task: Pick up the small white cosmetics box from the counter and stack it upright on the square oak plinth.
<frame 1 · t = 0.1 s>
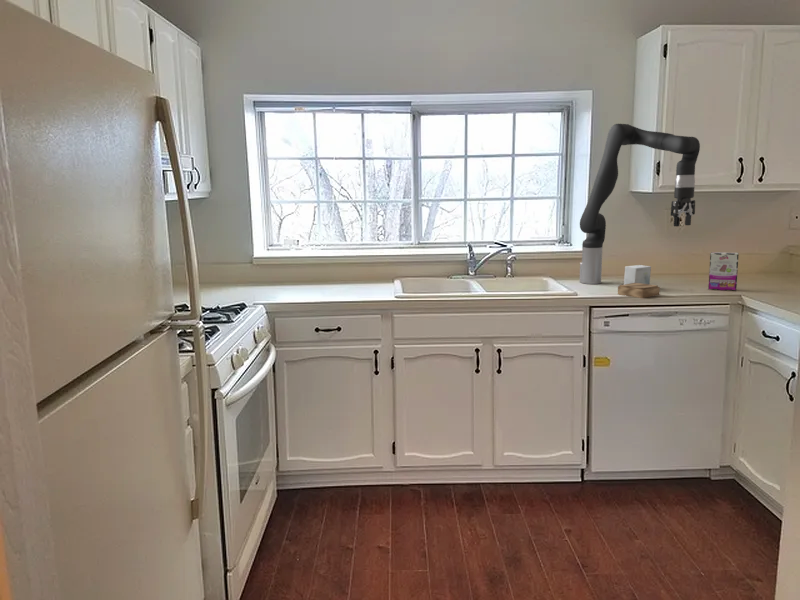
hand: (682, 225, 263), 29 cm above the countertop, tool pointing down, fingers open, 8 cm apart
skincare box: (636, 289, 284), on the countertop
candy bar box: (722, 290, 278), on the countertop
oak plinth: (638, 294, 270), on the countertop
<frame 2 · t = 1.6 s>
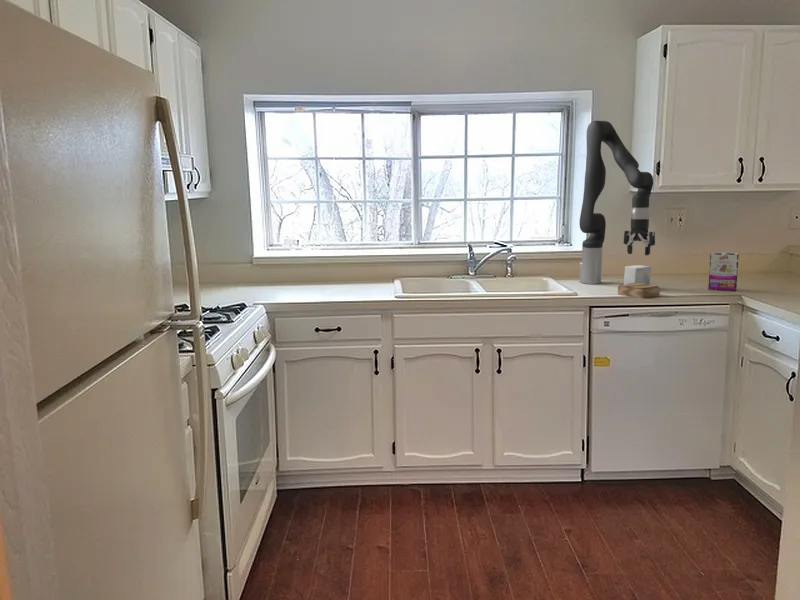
hand: (638, 254, 281), 16 cm above the countertop, tool pointing down, fingers open, 8 cm apart
nothing on the countertop moved.
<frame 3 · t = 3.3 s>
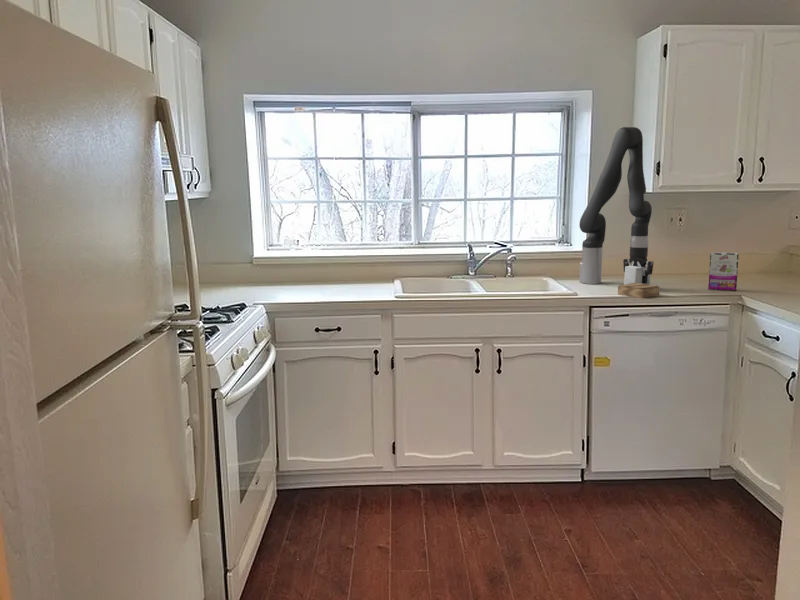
hand: (637, 282, 283), 3 cm above the countertop, tool pointing down, fingers closed on skincare box, 6 cm apart
skincare box: (636, 289, 284), on the countertop, touching gripper
everything else where it was.
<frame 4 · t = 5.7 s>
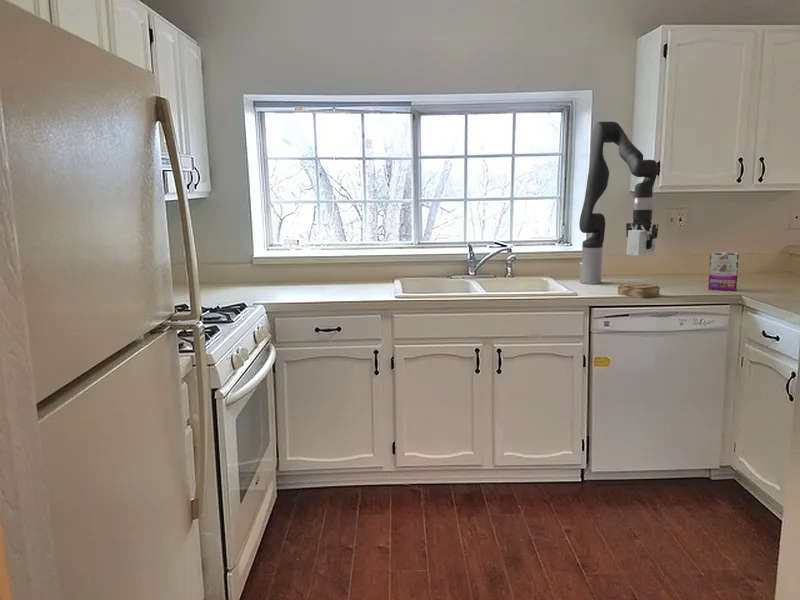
hand: (641, 248, 266), 20 cm above the countertop, tool pointing down, fingers closed on skincare box, 6 cm apart
skincare box: (640, 255, 267), point 17 cm above the countertop, touching gripper
everything else where it was.
when the fingers open (8 cm above the countertop, at t = 8.4 s): skincare box drops 1 cm, resting on oak plinth.
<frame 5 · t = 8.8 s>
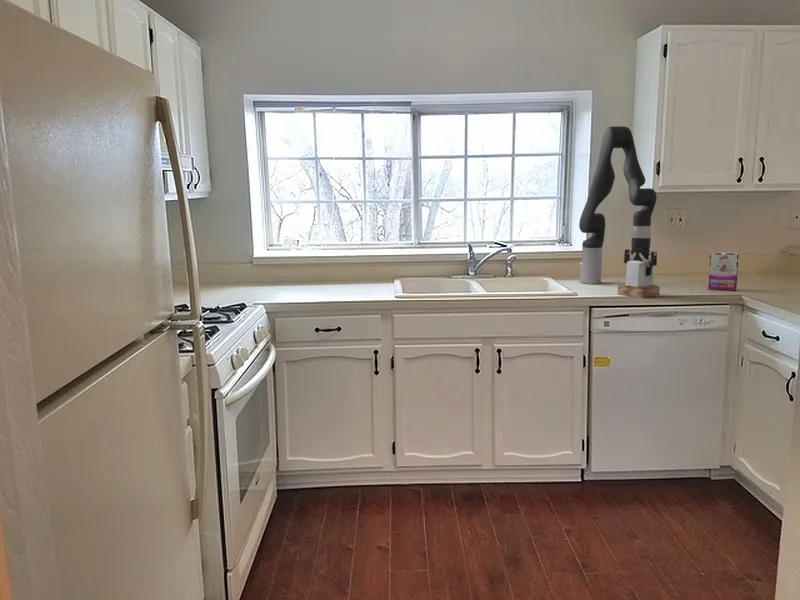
hand: (639, 274, 268), 9 cm above the countertop, tool pointing down, fingers open, 8 cm apart
skincare box: (639, 285, 269), point 4 cm above the countertop, touching oak plinth
everything else where it was.
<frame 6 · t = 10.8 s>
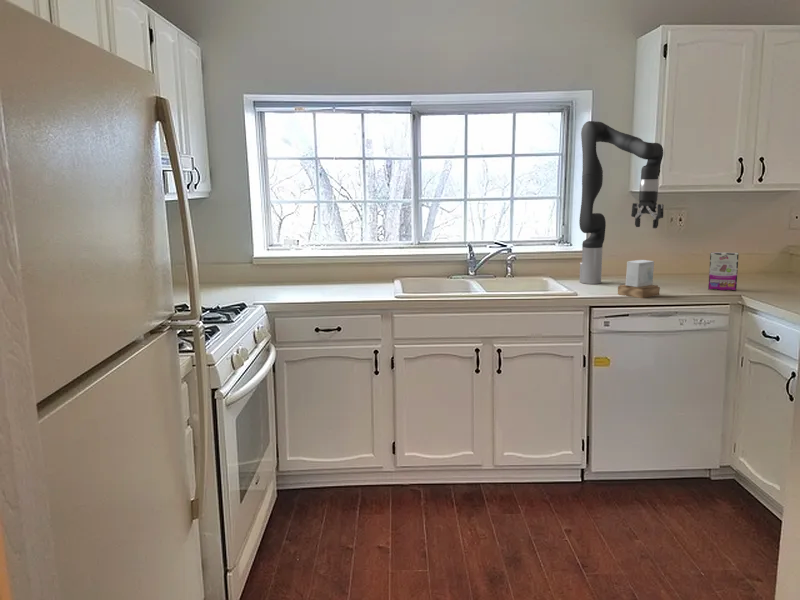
hand: (646, 227, 276), 28 cm above the countertop, tool pointing down, fingers open, 8 cm apart
nothing on the countertop moved.
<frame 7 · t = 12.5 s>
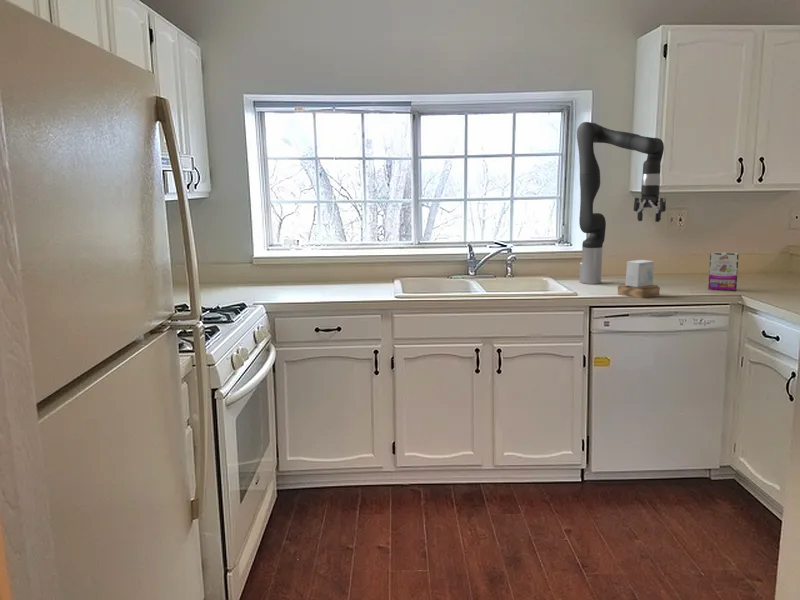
hand: (648, 221, 280), 30 cm above the countertop, tool pointing down, fingers open, 8 cm apart
nothing on the countertop moved.
at the end: skincare box 0.2 cm from the oak plinth (horizontally); skincare box touching oak plinth; skincare box tilted 0° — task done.
